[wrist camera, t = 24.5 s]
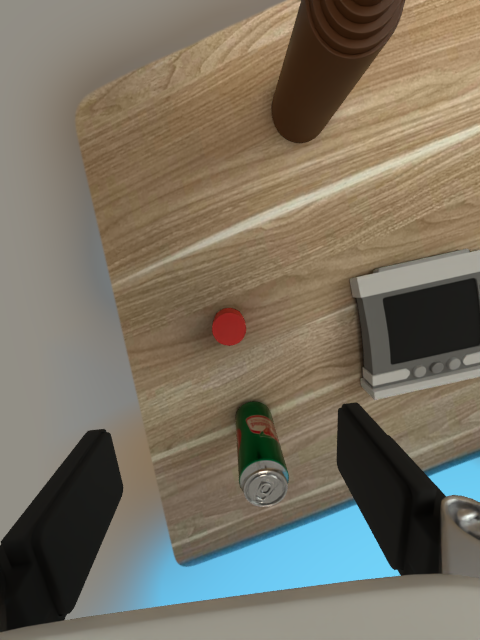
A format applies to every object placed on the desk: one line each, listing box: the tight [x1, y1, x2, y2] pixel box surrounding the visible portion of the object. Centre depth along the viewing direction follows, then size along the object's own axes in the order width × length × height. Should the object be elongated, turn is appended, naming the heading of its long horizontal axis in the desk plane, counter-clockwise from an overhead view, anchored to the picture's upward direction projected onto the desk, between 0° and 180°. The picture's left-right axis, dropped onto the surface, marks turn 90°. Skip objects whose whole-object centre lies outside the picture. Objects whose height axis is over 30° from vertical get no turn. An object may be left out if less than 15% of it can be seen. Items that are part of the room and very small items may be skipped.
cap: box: [212, 308, 246, 346], centre depth 31 cm, size 4×4×3 cm
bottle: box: [272, 0, 405, 143], centre depth 19 cm, size 6×6×17 cm
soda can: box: [236, 401, 289, 507], centre depth 30 cm, size 5×5×12 cm
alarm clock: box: [350, 249, 480, 400], centre depth 32 cm, size 17×5×16 cm
